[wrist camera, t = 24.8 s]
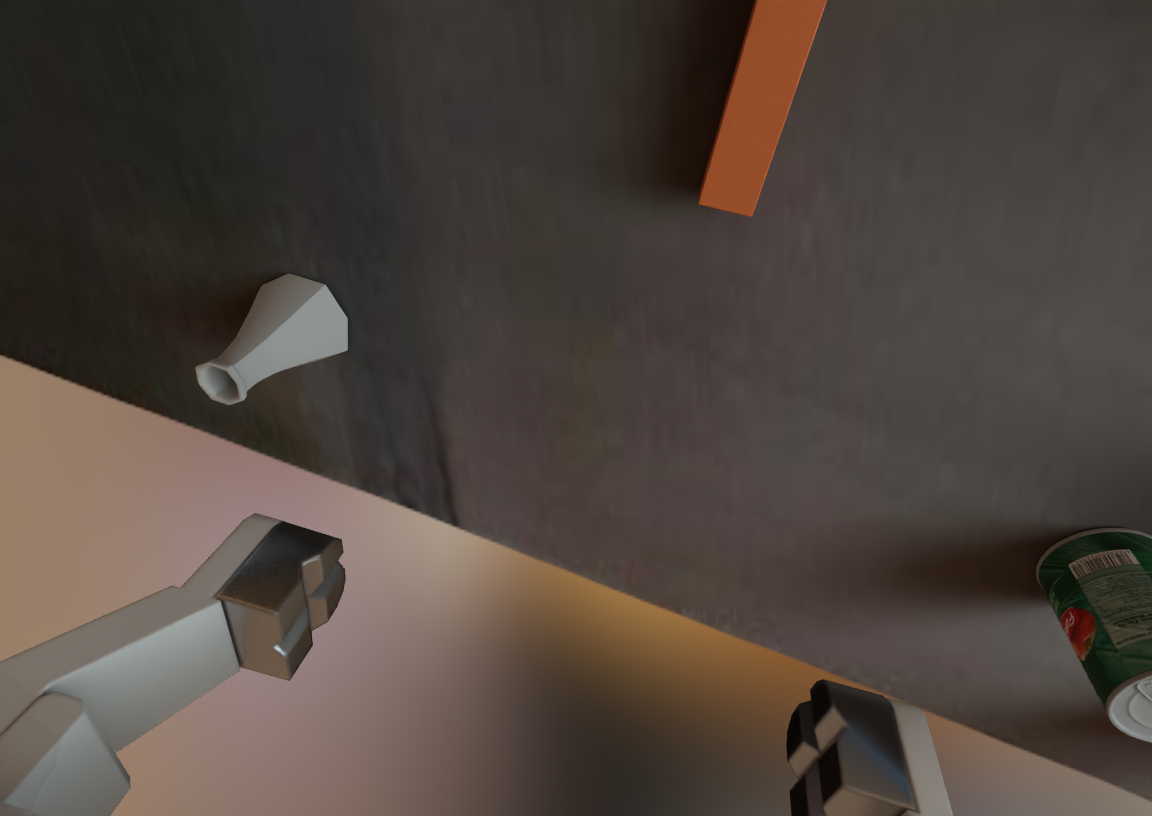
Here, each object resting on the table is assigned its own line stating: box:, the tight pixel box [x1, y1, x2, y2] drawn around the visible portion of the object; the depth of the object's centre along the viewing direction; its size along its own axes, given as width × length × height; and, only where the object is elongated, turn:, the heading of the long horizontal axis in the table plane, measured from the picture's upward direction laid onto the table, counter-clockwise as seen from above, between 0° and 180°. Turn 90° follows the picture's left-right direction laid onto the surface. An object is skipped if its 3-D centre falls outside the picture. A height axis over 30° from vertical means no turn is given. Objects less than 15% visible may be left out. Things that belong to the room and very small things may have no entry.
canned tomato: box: [1036, 528, 1152, 743], centre depth 40 cm, size 8×8×11 cm
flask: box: [195, 273, 348, 405], centre depth 43 cm, size 7×7×10 cm
